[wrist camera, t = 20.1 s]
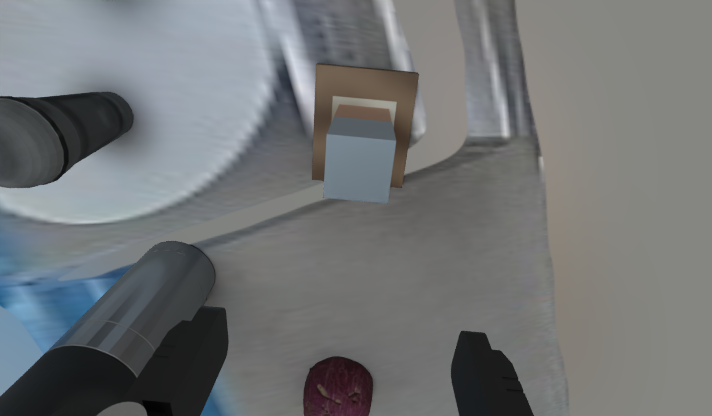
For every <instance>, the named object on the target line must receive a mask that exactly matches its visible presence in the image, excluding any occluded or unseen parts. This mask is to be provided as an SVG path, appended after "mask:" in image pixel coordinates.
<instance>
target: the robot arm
mask: <svg viewBox="0 0 712 416" xmlns="http://www.w3.org/2000/svg"><path fill="white" fill-rule="evenodd" d="M214 281H215V272H214V269H213V266H212V264H211V263H210V261H209V259H208V258H207V257H206V256H205V255H204V254H203V253H202V252H201V251H199V250H198V249H196V248H195V247H193V246H191V245H188V244H186V243H182V242H177V241H166V242H161V243H159V244H157V245H155V246H153V247H152V248H151V249H150V250H149V251H148V252H147V253H146V254H145V255H144V256H143V257H142V258H141V259H140V260H139V261H138V262H137V263H135V264H134V265H133V266H132V267H131V268H130V269H129V270H128V271H127V272H126V273H125V274H124V275H123V276H122V277H121V278H120V279H119V280H118V281H117V282H116V283H115V284H114V285H113V286H112V287H111V288H110V289H109V290H108V291H107V292H106V293H105V294H104V295H103V296H102V297H101V298H100V299H99V300H98V301H97V302H96V303H95V304H94V305H93V306H92V307H91V308H90V309H89V310H88V311H87V312H86V313H85V314H84V315H83V316H82V317H81V318H80V319H79V320H78V321H77V322H76V323H75V324H74V325H73V326H72V327H71V328H70V329H69V330H68V331H67V332H66V333H65V334H64V335H63V336H62V337H61V338H60V339H59V340H58V341H57V342H56V343H55V344H54V345H53V346H52V347H51V348H50V349H49V350H48V351H47V352H46V353H45V354H44V355H43V356H42V357H41V358H40V359H39V360H38V361H37V362H36V363H35V364H34V365H33V366H32V367H31V368H30V369H29V370H28V371H27V372H26V373H25V374H24V375H23V376H22V377H20V378H19V379H18V380H17V381H16V382H15V383H14V384H13V385H12V386H11V387H10V388H9V389H8V390H7V391H6V392H5V393H4V394H2V395H1V396H0V416H200V415H201V413H202V410H203V408H204V406H205V404H206V401H207V399H208V397H209V395H210V392H211V390H212V388H213V386H214V383H215V381H216V379H217V377H218V374H219V372H220V370H221V368H222V365H223V363H224V361H225V358H226V355H227V351H228V330H227V319H226V310H225V308H220V307H209V306H203V305H204V303H205V302H206V297H207V295H208V294H209V292H210V290H211V289H212V287H213V285H214ZM451 379H452V385H453V389H454V394H455V398H456V403H457V407H458V412H459V416H534V415H533V413H532V410H531V408H530V405H529V403H528V401H527V398H526V396H525V394H524V393H523V389H522V386H521V384H520V381H518V377H517V374H516V372H515V369H514V367H513V365H512V363H511V362H510V361H509V360H508V358H507V357H506V356H505V355H504V354H503V353H502V352H501V351H500V350H492V349H491V346H490V344H489V341H488V338H487V336H486V334H485V333H481V332H470V331H461V332H460V335H459V338H458V342H457V346H456V349H455V353H454V357H453V360H452V365H451Z"/></svg>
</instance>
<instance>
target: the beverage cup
mask: <svg viewBox="0 0 712 416" xmlns="http://www.w3.org/2000/svg"><path fill="white" fill-rule="evenodd" d="M132 124H133V114H132V110H131V108H130V107H129V105H128V103H127V102H126V101H125V100H124V99H123V98H121V97H120V96H118V95H117V94H114V93H111V92H101V93H100V92H91V93H81V94H71V95H60V96H50V97H40V98H27V97H12V96H0V186H1V187H6V188H30V187H35V186H38V185H44V184H48V183H51V182H54V181H57V180H58V179H59V178H60V177H61V176H62V175H63V174H64V173H66V172H67V171H68V170H69V169H70V168H71V167H72V166H73V165H74V164H76V163H77V162H79V161H81V160H82V159H84V158H86V157H87V156H89V155H91V154H92V153H94V152H96V151H97V150H99V149H101V148H102V147H104V146H105V145H107V144H109V143H110V142H112V141H114V140H115V139H117V138H119V137H120V136H121V135H122V134H124V133H125V132H127V131H128V130H129V129H130V128H131V126H132Z"/></svg>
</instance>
